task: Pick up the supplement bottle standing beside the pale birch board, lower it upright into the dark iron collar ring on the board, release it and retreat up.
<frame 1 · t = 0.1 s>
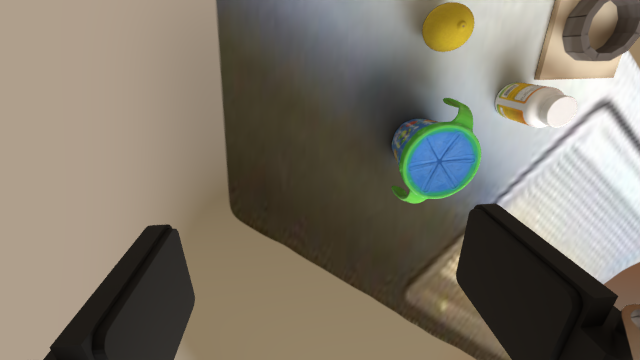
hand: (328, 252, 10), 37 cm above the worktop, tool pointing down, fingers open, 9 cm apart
lemon: (432, 29, 41), on the worktop
snack cup: (412, 140, 48), on the worktop
collar board: (587, 27, 43), on the worktop
supplement bottle: (509, 99, 46), on the worktop
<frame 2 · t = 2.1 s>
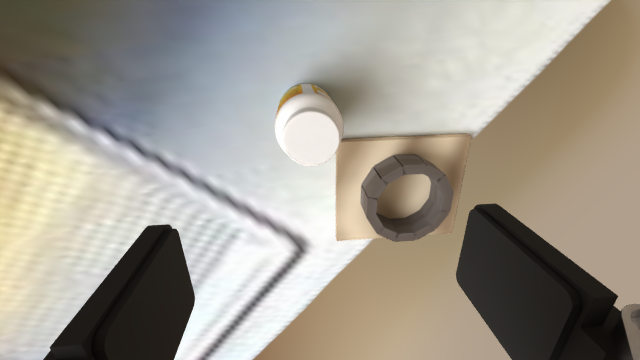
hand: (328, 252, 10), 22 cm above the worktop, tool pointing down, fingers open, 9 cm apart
collar board: (397, 187, 34), on the worktop
supplement bottle: (305, 110, 29), on the worktop
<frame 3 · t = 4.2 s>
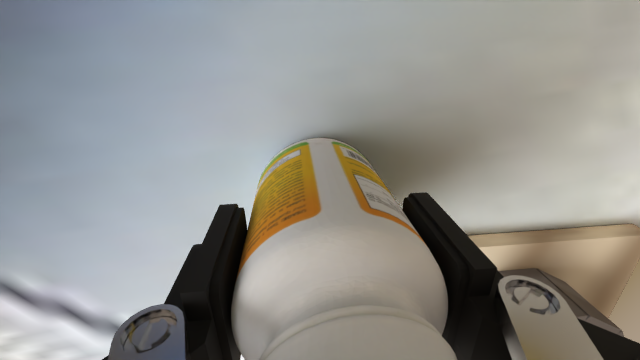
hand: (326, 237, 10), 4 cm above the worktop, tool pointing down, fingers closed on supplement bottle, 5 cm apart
collar board: (485, 315, 18), on the worktop
supplement bottle: (317, 190, 14), on the worktop, touching gripper
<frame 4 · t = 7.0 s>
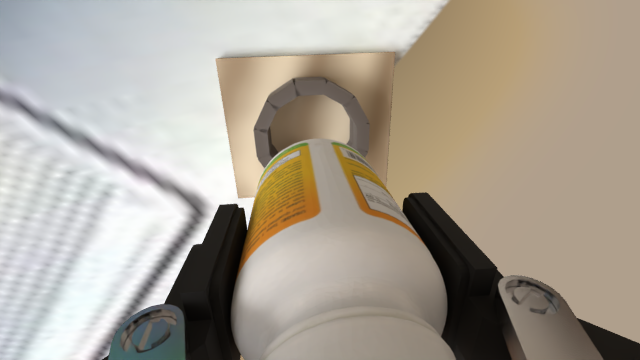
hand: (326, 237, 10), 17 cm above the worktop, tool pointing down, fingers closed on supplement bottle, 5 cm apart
collar board: (309, 128, 26), on the worktop
supplement bottle: (317, 190, 14), point 14 cm above the worktop, touching gripper
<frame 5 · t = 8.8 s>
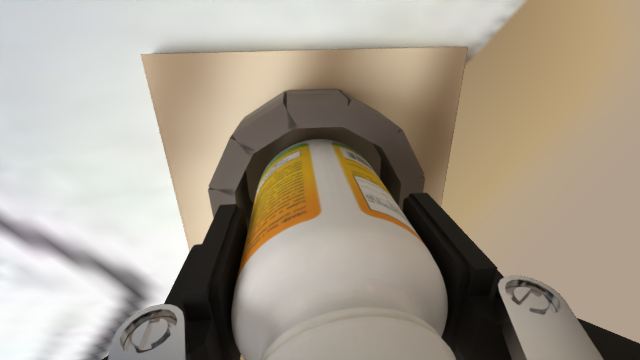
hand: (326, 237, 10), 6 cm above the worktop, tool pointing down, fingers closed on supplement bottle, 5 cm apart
collar board: (313, 171, 16), on the worktop
supplement bottle: (317, 191, 14), point 3 cm above the worktop, touching gripper
when the fingers open (6 cm above the worktop, at t = 9.9 s): supplement bottle drops 1 cm, resting on collar board.
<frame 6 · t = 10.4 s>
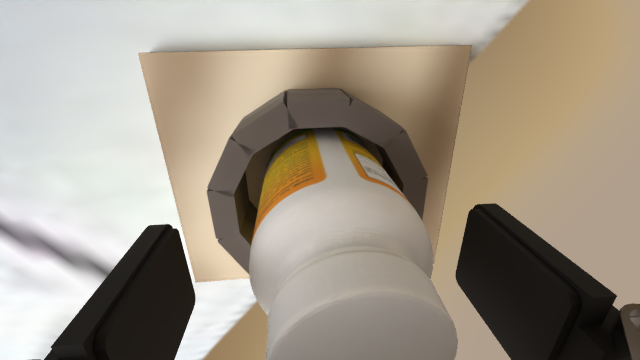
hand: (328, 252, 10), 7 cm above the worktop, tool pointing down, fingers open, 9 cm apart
collar board: (314, 171, 16), on the worktop
supplement bottle: (319, 174, 15), point 1 cm above the worktop, touching collar board
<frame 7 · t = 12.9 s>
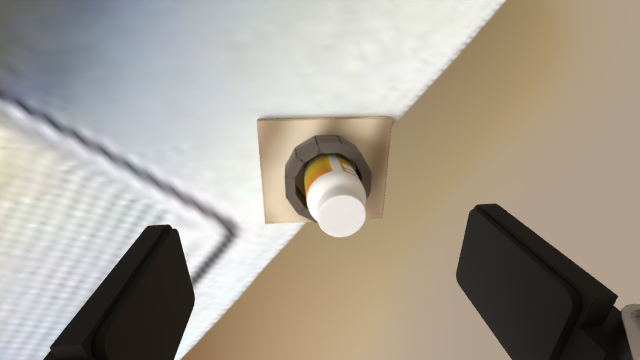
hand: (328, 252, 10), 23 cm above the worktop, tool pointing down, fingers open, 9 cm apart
collar board: (324, 170, 34), on the worktop
supplement bottle: (327, 171, 33), point 1 cm above the worktop, touching collar board
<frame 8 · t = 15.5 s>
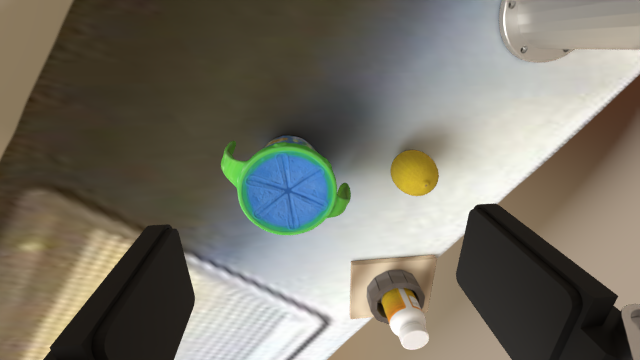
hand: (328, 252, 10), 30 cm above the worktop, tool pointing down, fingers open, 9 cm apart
lemon: (402, 161, 42), on the worktop
snack cup: (289, 160, 40), on the worktop
collar board: (390, 285, 51), on the worktop
supplement bottle: (393, 288, 51), point 1 cm above the worktop, touching collar board
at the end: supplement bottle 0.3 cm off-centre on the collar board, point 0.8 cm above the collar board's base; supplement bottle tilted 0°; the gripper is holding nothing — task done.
